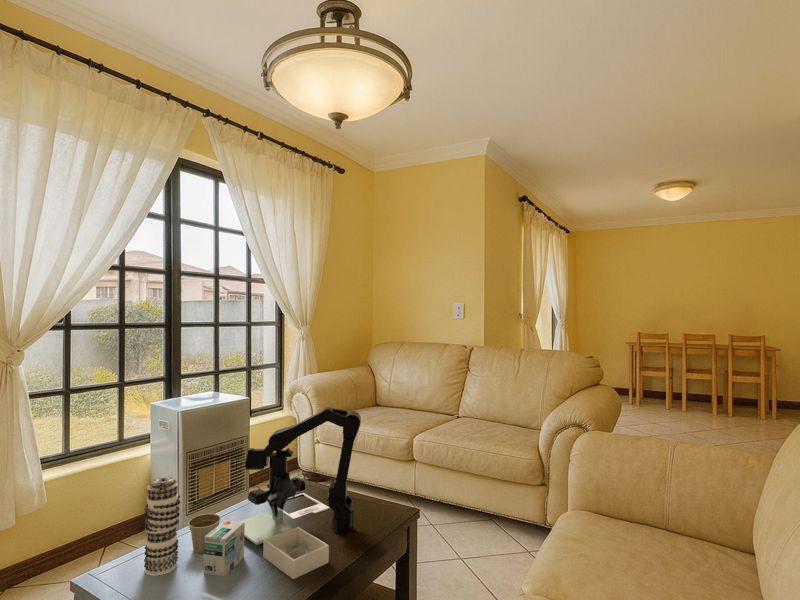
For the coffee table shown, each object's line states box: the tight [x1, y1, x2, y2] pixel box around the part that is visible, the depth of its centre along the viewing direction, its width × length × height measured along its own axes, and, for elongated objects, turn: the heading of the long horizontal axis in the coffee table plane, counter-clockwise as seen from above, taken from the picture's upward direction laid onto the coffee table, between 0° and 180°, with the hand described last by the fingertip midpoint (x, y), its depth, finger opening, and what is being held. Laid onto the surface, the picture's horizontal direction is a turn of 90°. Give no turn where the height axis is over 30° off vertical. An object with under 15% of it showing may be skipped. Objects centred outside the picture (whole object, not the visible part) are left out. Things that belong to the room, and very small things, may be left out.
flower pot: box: [187, 513, 222, 554], centre depth 143 cm, size 9×9×9 cm
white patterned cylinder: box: [143, 476, 181, 577], centre depth 132 cm, size 9×9×25 cm
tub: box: [262, 526, 330, 580], centre depth 136 cm, size 12×16×6 cm
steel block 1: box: [286, 540, 305, 555], centre depth 140 cm, size 4×4×2 cm
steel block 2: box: [290, 552, 303, 559], centre depth 133 cm, size 4×4×2 cm
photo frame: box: [283, 492, 331, 520], centre depth 173 cm, size 15×1×18 cm
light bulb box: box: [203, 519, 245, 577], centre depth 133 cm, size 11×7×11 cm, turn 168°
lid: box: [239, 507, 293, 546], centre depth 150 cm, size 13×17×5 cm
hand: (277, 516), depth 154 cm, fingers closed on lid
